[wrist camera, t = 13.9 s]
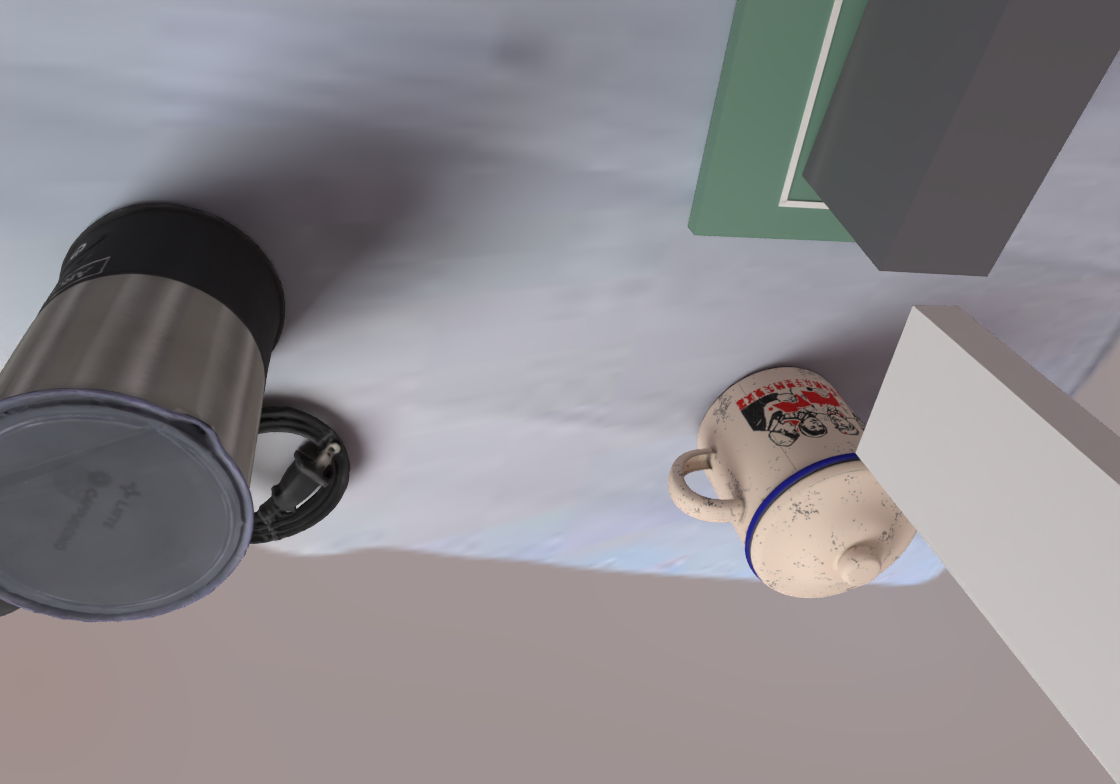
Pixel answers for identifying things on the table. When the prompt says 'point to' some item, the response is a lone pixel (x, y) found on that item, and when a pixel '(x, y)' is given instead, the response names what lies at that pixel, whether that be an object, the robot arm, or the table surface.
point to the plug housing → (954, 123)
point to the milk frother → (148, 423)
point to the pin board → (773, 120)
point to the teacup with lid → (793, 485)
